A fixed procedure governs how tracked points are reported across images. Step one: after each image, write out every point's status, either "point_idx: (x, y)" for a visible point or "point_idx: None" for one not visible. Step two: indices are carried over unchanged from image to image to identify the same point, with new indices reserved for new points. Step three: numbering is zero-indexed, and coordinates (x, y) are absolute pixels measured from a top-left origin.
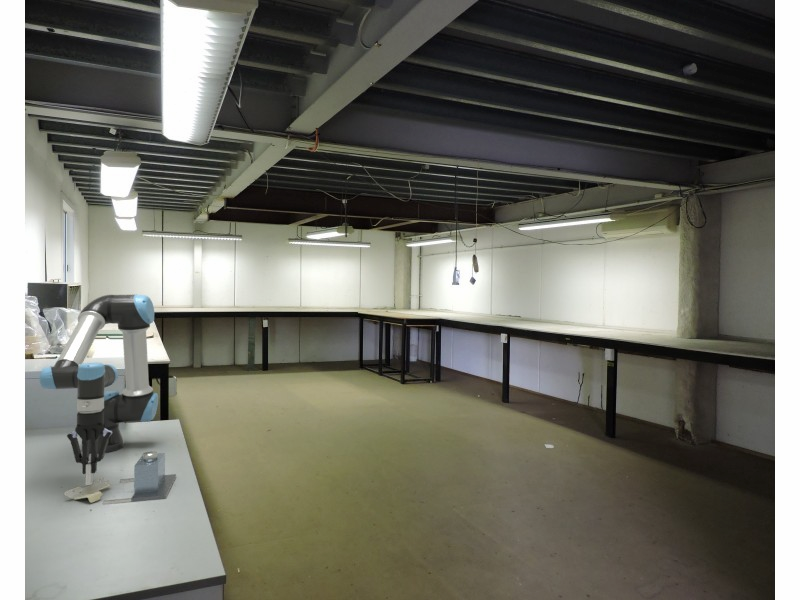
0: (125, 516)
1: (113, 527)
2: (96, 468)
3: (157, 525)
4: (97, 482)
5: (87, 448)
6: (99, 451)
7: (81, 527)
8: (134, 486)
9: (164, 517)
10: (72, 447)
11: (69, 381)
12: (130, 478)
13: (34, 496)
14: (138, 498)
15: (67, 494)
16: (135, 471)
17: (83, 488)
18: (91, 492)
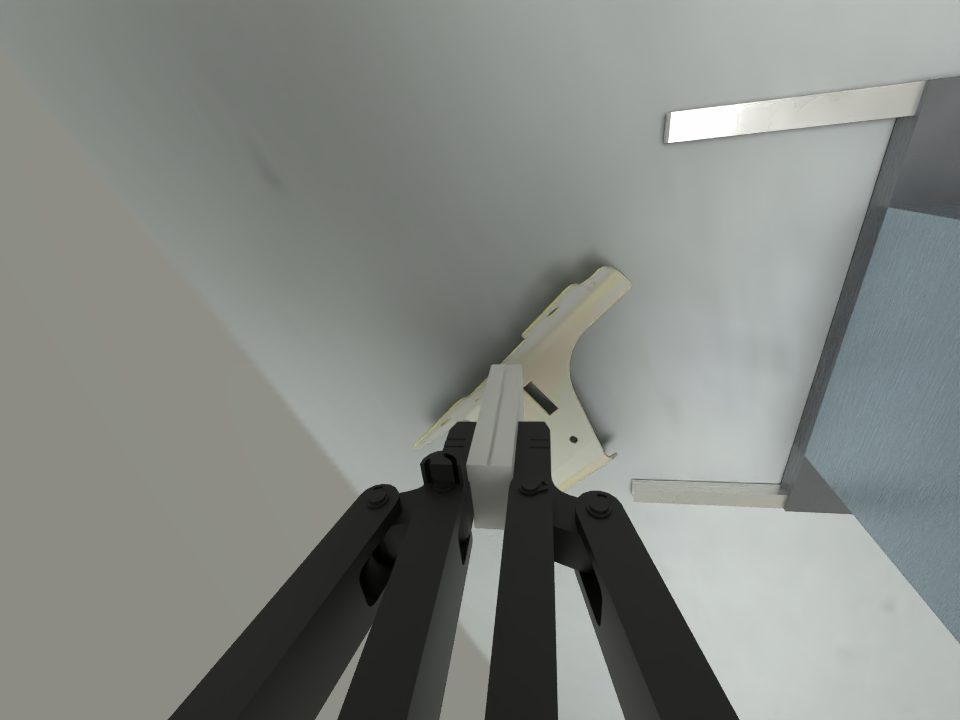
0: (756, 614)
1: (718, 665)
2: (550, 446)
3: (882, 697)
4: (541, 325)
5: (434, 682)
6: (613, 678)
7: None
8: (833, 490)
9: (924, 661)
10: None
11: None
12: (766, 102)
13: (226, 316)
14: (826, 510)
15: (429, 439)
16: (926, 590)
17: (481, 388)
18: (526, 363)
